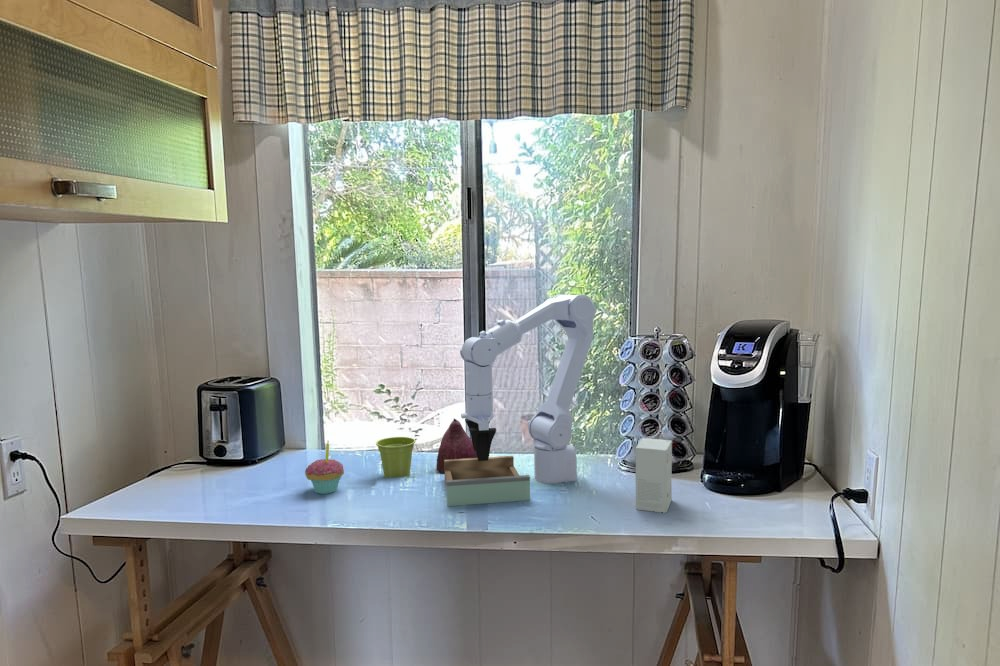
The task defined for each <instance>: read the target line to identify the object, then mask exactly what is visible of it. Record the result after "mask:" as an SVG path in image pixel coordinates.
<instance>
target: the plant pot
mask: <svg viewBox="0 0 1000 666" xmlns="http://www.w3.org/2000/svg"><path fill="white" fill-rule="evenodd" d="M415 444H416V439H415V438H413V437H409V436H393V437H392V436H391V437H386V438H381V439H380V440H379V439H378V440H377V441H376V442H375V445H376V447H377V449H378V451H379V455H380V460H381V465H382V471H383V476H384V478H385V479H388V478H389V479H391V478H392V479H393V478H405V477H406V478H408V477H409V476H410V475H411V467H412V456H413V449H414V445H415Z"/></svg>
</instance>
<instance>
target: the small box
mask: <svg viewBox="0 0 1000 666" xmlns="http://www.w3.org/2000/svg"><path fill="white" fill-rule="evenodd" d="M634 450H635V510H637V509H638V511H646V512H647V511H648V512H653V511H654V512H655V513H661V512H663V513H662V514H666V513H667V512H668V509H669V507H670V505H671V502H672V501H673V500H672V499H673V497H672V494H673V493H672V490H673V489H672V486H673V485H672V474H673V473H672V471H673V470H672V468H673V467H672V466H673V459H672V458H673V456H672V455H673V441H672V440H669V439H661V438H659V439H658V438H646V437H643V438H641V440H640V441H639V442H638V443H637V445H636V446H635V449H634Z"/></svg>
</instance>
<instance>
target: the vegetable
mask: <svg viewBox="0 0 1000 666" xmlns="http://www.w3.org/2000/svg"><path fill="white" fill-rule="evenodd" d="M440 441H441V442H440V445H439V448H438V453H437V457H436V464H435V465H436V472H438V473H440V474H444V475H445V471H444V460H451V459H467V458H477V455H476V451H474V448H473V444H472V439H471V438H470V436H469V435H468V434H467V432H466V431H465V429H464V428H463V426H462V424H461V422H460V421H459V420H457V419H456V418H453V419H452V421H451V422H450V424H449V426H448V428H447V429H446V431H445V432H444V434H443V436H442V438H441V440H440Z"/></svg>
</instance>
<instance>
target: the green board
mask: <svg viewBox="0 0 1000 666" xmlns="http://www.w3.org/2000/svg"><path fill="white" fill-rule="evenodd" d="M446 485H447V488H446V506H447V507H453V506H454V507H455V506H468V505H469V506H470V505H482V504H495V503H509V502H510V503H511V502H521V501H530V500H531V476H530V475H529V474H523V475H520V476H506V477H491V478H476V479H461V480H446V483H445V486H446Z"/></svg>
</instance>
